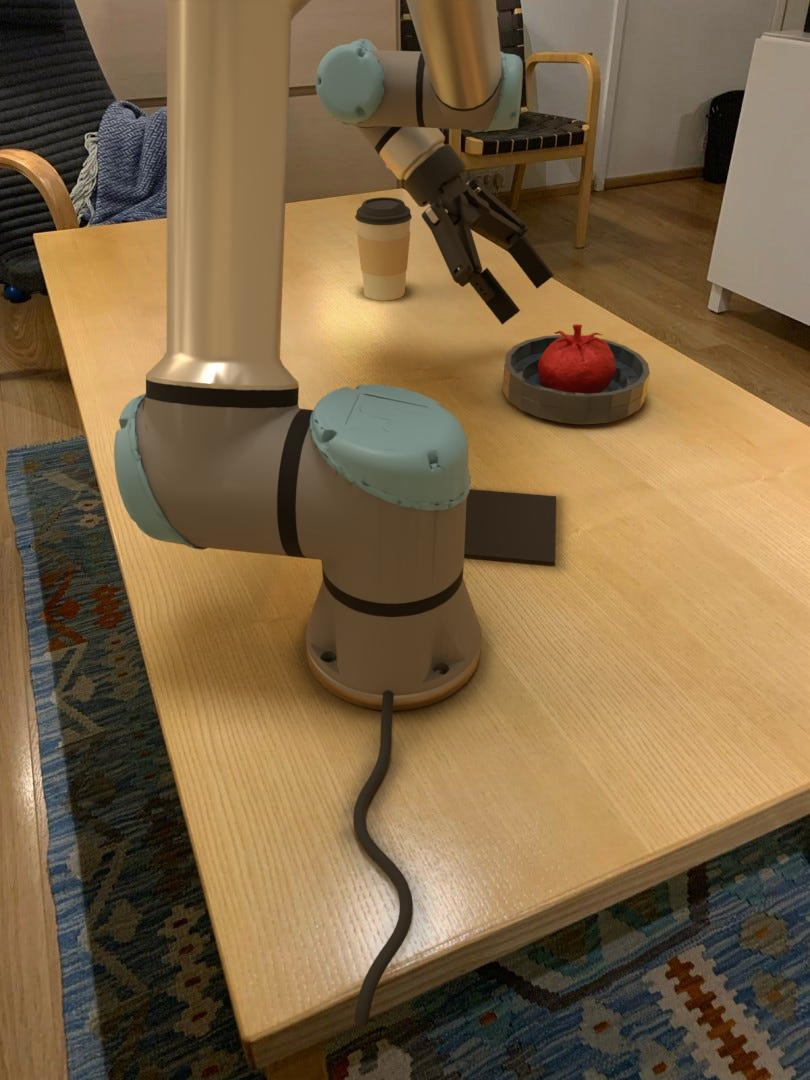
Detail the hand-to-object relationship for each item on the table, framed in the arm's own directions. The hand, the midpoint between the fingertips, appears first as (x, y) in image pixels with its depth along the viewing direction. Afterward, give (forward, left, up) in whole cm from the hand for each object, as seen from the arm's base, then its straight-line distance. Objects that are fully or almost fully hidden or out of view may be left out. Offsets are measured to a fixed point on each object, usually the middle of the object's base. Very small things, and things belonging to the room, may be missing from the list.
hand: (529, 299), depth 112 cm
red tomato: (-2, -7, -12) cm, 14 cm away
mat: (-34, +1, -12) cm, 36 cm away
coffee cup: (+31, +24, -12) cm, 41 cm away
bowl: (-2, -7, -12) cm, 14 cm away
